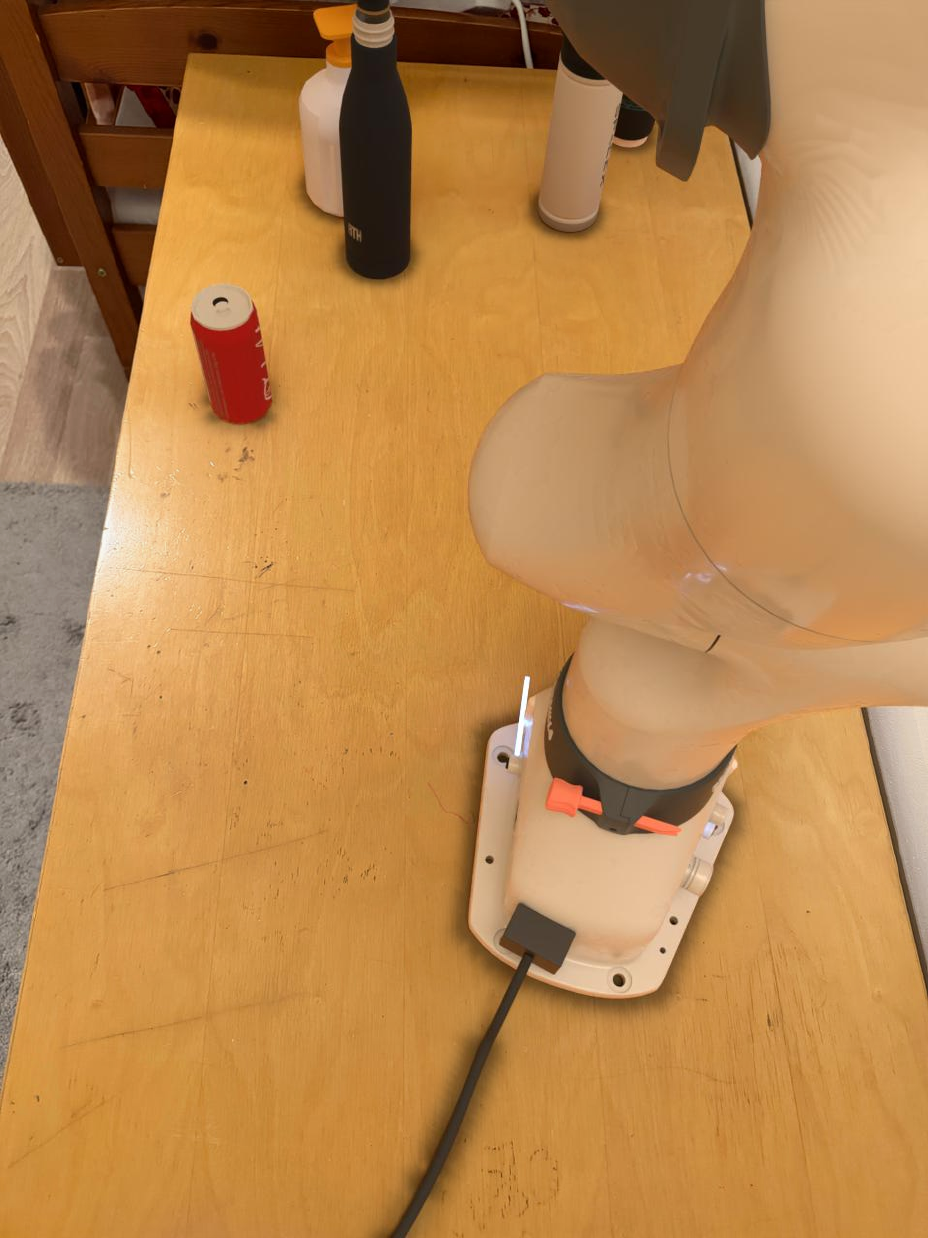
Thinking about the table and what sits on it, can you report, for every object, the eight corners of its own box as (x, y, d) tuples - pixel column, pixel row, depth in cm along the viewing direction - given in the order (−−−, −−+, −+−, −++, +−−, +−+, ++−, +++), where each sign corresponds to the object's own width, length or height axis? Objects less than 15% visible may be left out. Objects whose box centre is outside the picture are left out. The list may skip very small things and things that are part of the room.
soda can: (280, 417, 90) (264, 319, 80) (220, 433, 89) (196, 335, 79) (262, 373, 93) (245, 271, 82) (204, 387, 91) (178, 286, 81)
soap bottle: (297, 168, 106) (272, -87, 84) (381, 155, 108) (377, -98, 86) (317, 226, 102) (296, -26, 81) (404, 211, 104) (406, -38, 82)
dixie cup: (618, 165, 109) (639, 68, 100) (576, 123, 112) (593, 25, 103) (675, 142, 112) (702, 46, 102) (633, 102, 115) (654, 4, 105)
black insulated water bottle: (414, 237, 102) (420, -85, 76) (405, 283, 99) (409, -37, 73) (351, 230, 102) (335, -95, 76) (340, 275, 99) (320, -48, 73)
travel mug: (524, 201, 106) (549, 9, 88) (579, 186, 107) (614, -6, 90) (551, 240, 103) (582, 51, 86) (607, 224, 105) (649, 35, 87)
